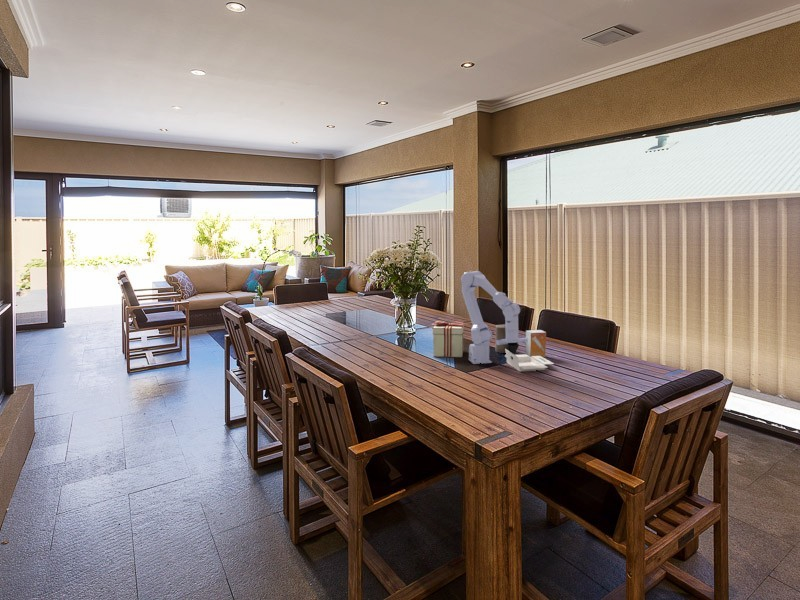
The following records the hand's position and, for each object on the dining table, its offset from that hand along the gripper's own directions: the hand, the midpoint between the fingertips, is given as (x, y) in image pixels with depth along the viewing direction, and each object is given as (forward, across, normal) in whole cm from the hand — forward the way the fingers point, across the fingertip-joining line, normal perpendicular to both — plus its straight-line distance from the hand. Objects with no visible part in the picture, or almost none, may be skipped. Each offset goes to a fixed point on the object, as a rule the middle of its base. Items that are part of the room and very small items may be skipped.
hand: (512, 358), depth 217 cm
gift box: (+3, -22, +32) cm, 39 cm away
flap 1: (-1, 0, +1) cm, 1 cm away
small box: (+4, +18, +16) cm, 24 cm away
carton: (+4, +6, +1) cm, 8 cm away
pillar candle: (+4, +8, +29) cm, 30 cm away
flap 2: (+2, +15, 0) cm, 15 cm away
